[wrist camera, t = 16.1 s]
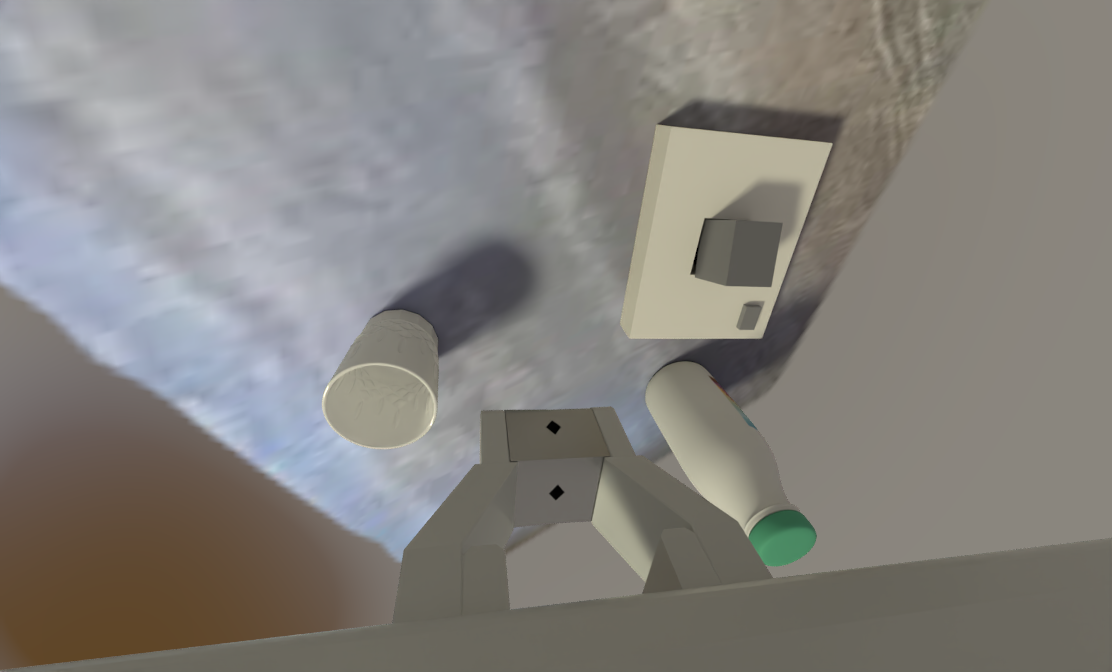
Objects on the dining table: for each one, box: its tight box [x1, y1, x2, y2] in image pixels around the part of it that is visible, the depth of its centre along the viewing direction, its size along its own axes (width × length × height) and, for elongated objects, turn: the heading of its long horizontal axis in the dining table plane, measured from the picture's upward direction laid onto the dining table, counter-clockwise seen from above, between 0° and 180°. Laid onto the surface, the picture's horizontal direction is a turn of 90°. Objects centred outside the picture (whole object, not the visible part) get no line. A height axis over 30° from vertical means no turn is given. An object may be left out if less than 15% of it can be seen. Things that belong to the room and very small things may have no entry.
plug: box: [695, 220, 783, 287], centre depth 37 cm, size 5×4×7 cm
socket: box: [620, 125, 833, 339], centre depth 39 cm, size 18×14×4 cm
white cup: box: [322, 310, 439, 449], centre depth 36 cm, size 8×8×10 cm
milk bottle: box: [645, 361, 817, 566], centre depth 40 cm, size 8×8×20 cm
